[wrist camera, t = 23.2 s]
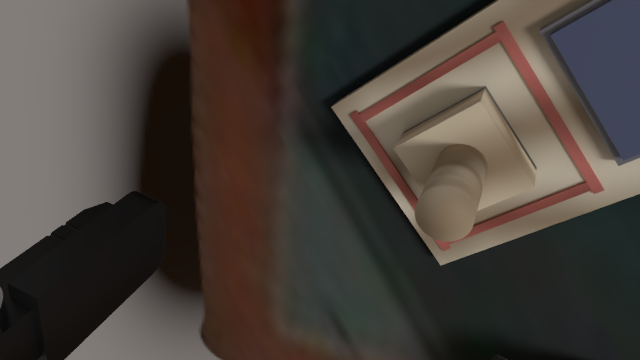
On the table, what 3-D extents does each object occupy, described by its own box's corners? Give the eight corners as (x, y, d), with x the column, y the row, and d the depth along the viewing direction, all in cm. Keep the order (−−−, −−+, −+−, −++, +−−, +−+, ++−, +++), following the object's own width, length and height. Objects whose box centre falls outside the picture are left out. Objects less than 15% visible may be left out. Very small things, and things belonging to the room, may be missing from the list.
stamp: (403, 131, 35) (364, 192, 28) (486, 86, 32) (464, 142, 25) (452, 203, 36) (426, 279, 29) (536, 167, 33) (529, 242, 26)
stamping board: (336, 102, 37) (330, 108, 36) (725, -148, 24) (732, -149, 23) (443, 257, 40) (440, 266, 39) (847, 108, 27) (858, 116, 26)
